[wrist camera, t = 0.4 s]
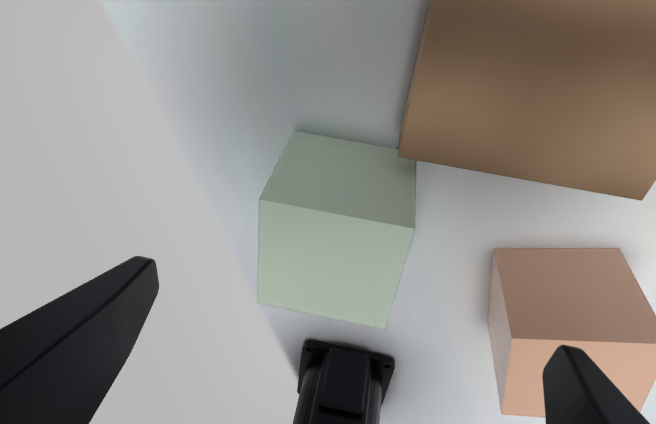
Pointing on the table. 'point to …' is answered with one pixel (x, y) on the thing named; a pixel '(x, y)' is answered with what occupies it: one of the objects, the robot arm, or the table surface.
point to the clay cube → (567, 321)
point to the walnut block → (538, 92)
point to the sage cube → (335, 229)
